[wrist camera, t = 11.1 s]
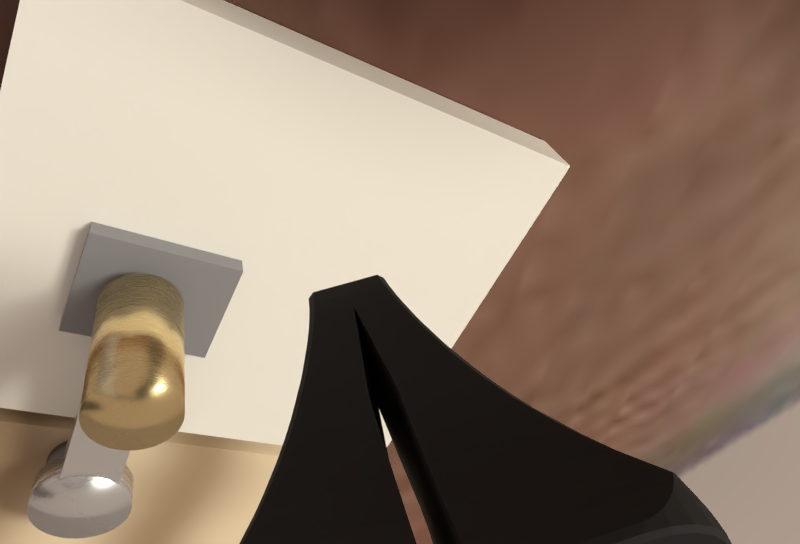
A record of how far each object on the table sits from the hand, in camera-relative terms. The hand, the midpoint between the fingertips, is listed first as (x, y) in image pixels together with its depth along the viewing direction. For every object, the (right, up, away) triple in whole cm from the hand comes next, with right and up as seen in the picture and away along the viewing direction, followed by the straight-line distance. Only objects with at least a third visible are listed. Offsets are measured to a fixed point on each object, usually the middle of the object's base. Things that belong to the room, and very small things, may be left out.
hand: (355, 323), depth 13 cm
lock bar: (-9, -3, +9) cm, 13 cm away
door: (-4, +2, +10) cm, 11 cm away
